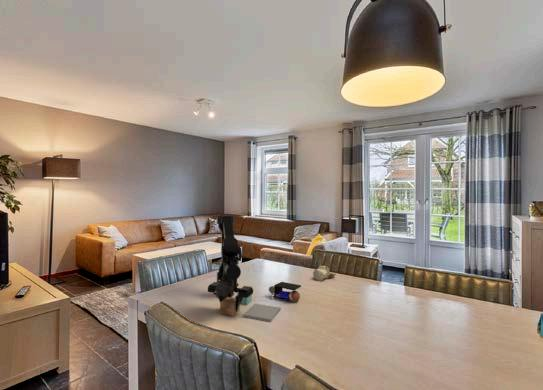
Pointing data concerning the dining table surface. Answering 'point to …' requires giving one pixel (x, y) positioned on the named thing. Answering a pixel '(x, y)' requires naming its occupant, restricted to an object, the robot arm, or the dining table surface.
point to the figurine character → (278, 291)
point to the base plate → (262, 312)
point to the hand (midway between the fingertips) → (230, 309)
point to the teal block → (246, 300)
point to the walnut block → (228, 306)
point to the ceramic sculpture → (322, 273)
